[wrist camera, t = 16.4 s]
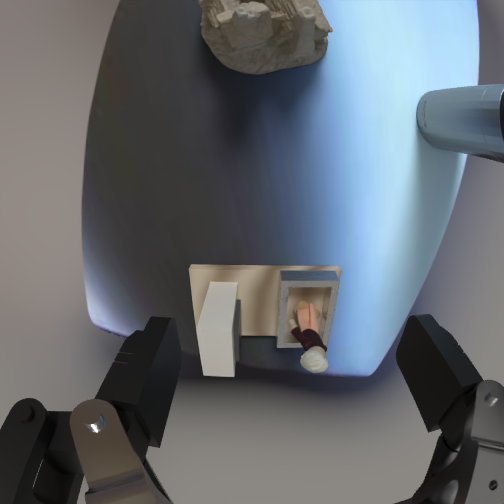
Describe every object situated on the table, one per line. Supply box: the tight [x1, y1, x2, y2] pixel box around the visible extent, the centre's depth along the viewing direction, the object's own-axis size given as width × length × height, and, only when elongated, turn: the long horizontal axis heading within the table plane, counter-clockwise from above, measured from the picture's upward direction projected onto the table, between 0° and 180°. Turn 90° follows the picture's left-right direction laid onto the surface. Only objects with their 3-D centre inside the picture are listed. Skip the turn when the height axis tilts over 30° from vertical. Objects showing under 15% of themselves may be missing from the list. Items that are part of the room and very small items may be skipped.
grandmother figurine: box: [288, 301, 328, 373], centre depth 37 cm, size 8×4×13 cm, turn 60°
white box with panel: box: [196, 282, 242, 377], centre depth 37 cm, size 5×8×11 cm, turn 0°
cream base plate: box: [189, 264, 341, 336], centre depth 43 cm, size 22×12×2 cm, turn 90°
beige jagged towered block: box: [198, 0, 333, 75], centre depth 21 cm, size 16×16×15 cm
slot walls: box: [276, 270, 340, 348], centre depth 41 cm, size 8×12×3 cm, turn 0°
